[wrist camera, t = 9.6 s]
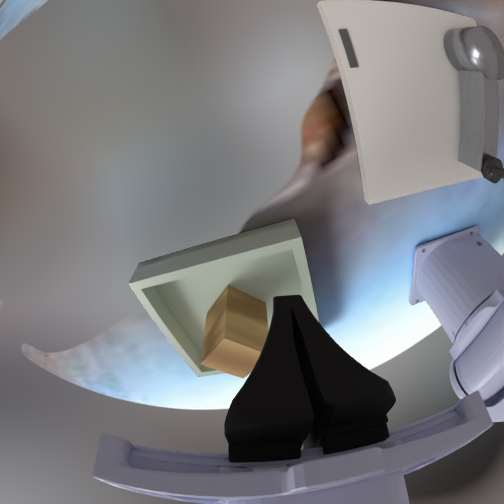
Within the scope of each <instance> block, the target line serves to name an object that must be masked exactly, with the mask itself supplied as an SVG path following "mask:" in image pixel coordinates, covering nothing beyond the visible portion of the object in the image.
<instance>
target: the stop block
mask: <svg viewBox="0 0 504 504" xmlns="http://www.w3.org/2000/svg"><path fill="white" fill-rule="evenodd" d="M268 332H269V329H268V319H267V309H266V302H263V301H261V300H259V299H257V298H255V297H252V296H250V295H248V294H246V293H244V292H242V291H240V290H237V289H235V288H233V287H231V286H229V285H227V286H226V288H225V289H224V290H223V292H222V293H221V294H220V296H219V297H218V298H217V300H216V301H215V302H214V304H213V305H212V306H211V308H210V309H209V310H208V312H207V315H206V323H205V330H204V338H203V346H202V355H201V365H204V366H207V367H210V368H213V369H216V370H219V371H222V372H225V373H228V374H231V375H234V376H238V377H241V378H244V377H246V376H247V375H248V374H249V373H250V372H252V370H253V368H254V366H255V364H256V362H257V360H258V358H259V356H260V354H261V351H262V349H263V347H264V344H265V341H266V338H267V335H268Z"/></svg>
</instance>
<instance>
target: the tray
mask: <svg viewBox="0 0 504 504" xmlns="http://www.w3.org/2000/svg"><path fill="white" fill-rule="evenodd" d="M129 285H130V287H131V288H132V290H133V291H134V293H135V294H136V296H137V297H138V299H139V300H140V302H141V303H142V305H143V306H144V308H145V309H146V310H147V312H148V313H149V315H150V316H151V317H152V319H153V320H154V322H155V323H156V324H157V326H158V327H159V328H160V330H161V331H162V332H163V334H164V335H165V336H166V338H167V339H168V340H169V342H170V343H171V344H172V346H173V347H174V348H175V349H176V351H177V352H178V353H179V354H180V356H181V357H182V358H183V359H184V361H185V362H186V363H187V364H188V365H189V367H190V368H191V369H192V370H193V371H194V373H195V374H196V375H197V376H198V377H200V376H208V375H216V374H223V373H225V372H222V371H219V370H216V369H213V368H210V367H207V366H204V365H201V355H202V346H203V338H204V330H205V323H206V315H207V312H208V310H209V309H210V308H211V306H212V305H213V304H214V302H215V301H216V300H217V298H218V297H219V296H220V294H221V293H222V292H223V290H224V289H225V288H226V286H227V285H229V286H231V287H233V288H235V289H237V290H240V291H242V292H244V293H246V294H248V295H250V296H252V297H255V298H257V299H259V300H261V301H263V302H266V309H267V319H268V329H269V328H270V324H271V320H272V315H273V298H274V297H275V296H286V295H299V294H300V295H301V296H302V298H303V299H304V301H305V303H306V304H307V306H308V308H309V309H310V311H311V312H312V314H313V315H314V316H315V318H316V319H317V320H318V322H319V319H318V313H317V308H316V303H315V298H314V293H313V288H312V283H311V278H310V273H309V269H308V264H307V259H306V255H305V250H304V246H303V241H302V237H301V234H300V232H299V229H298V227H297V224H296V222H295V219H290V220H286V221H283V222H279V223H275V224H272V225H268V226H265V227H261V228H257V229H254V230H250V231H247V232H243V233H239V234H236V235H232V236H229V237H225V238H222V239H219V240H215V241H211V242H208V243H205V244H201V245H198V246H194V247H191V248H187V249H184V250H181V251H177V252H174V253H171V254H167V255H164V256H161V257H157V258H154V259H151V260H147V261H144V262H141V263H139V264H138V266H137V268H136V270H135V272H134V274H133V276H132V278H131V280H130V282H129Z"/></svg>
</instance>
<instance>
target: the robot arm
mask: <svg viewBox="0 0 504 504" xmlns="http://www.w3.org/2000/svg"><path fill="white" fill-rule="evenodd" d="M479 231H480V229H479V227H478V226H474V227H472V228H469V229H466V230H463V231H460V232H457V233H455V234H452V235H449V236H446V237H443V238H440V239H437V240H434V241H431V242H428V243H425V244H422V245H419V246H417V247H416V248H415V251H414V264H413V275H412V284H411V293H410V300H409V303H410V304H411V305H415V304H417V303H420V302H422V301H425V300H426V302H427V303H428V305H429V306H430V308H431V309H432V311H433V312H434V314H435V315H436V317H437V319H438V320H439V322H440V323H441V325H442V327H443V328H444V330H445V331H446V333H447V335H448V336H449V338H450V340H451V342H452V343H453V347H452V349H451V350H450V353H451V355H452V357H453V360H452V362H451V364H450V379H451V383H452V386H453V389H454V391H455V392H456V394H457V396H458V397H459V398H460V399H461V400H460V401H459V402H458V403H457V404H456V405H455V406H453V407H451V408H449V409H447V410H445V411H442V412H440V413H438V414H435V415H433V416H430V417H428V418H425V419H423V420H420V421H418V422H415V423H412V424H409V425H406V426H403V427H400V428H397V429H394V430H391V431H388V428H387V424H386V423H387V422H388V418H387V415H386V414H387V413H388V411H389V410H390V409H391V408H392V407H393V405H394V404H395V401H396V398H395V395H394V392H393V390H392V388H391V387H390V385H389V383H388V381H386V380H385V379H383V378H381V377H379V376H378V375H376V374H374V373H372V372H371V371H369V370H368V369H367V368H365V367H364V366H362V365H361V364H360V363H359V362H357V361H356V360H355V359H353V358H352V357H351V356H350V355H349V354H348V353H346V352H345V351H344V350H343V349H342V348H341V347H340V346H339V345H338V344H337V343H336V342H335V341H334V340H333V339H332V338H331V337H330V335H329V334H328V333H327V332H326V331H325V329H324V328H323V327H322V326H321V324H320V323H319V322H318V320H317V319H316V318H315V316H314V315H313V314H312V312H311V311H310V309H309V308H308V306H307V304H306V303H305V301H304V299H303V298H302V296H301V295H300V294H299V295H286V296H275V297H274V298H273V315H272V320H271V324H270V328H269V332H268V335H267V338H266V341H265V344H264V347H263V349H262V351H261V354H260V356H259V358H258V360H257V362H256V364H255V366H254V368H253V370H252V372H251V374H250V375H249V377H248V379H247V380H246V382H245V383H244V385H243V387H242V388H241V389H240V391H239V392H238V393H237V395H236V396H235V398H234V399H233V400H232V403H231V405H230V408H229V411H228V413H227V416H226V420H225V437H226V439H227V441H228V443H229V454H210V453H194V452H181V451H172V450H165V449H157V448H150V447H144V446H139V445H133V444H132V443H131V442H130V441H128V440H127V439H124V438H121V437H117V436H113V435H108V434H104V433H102V434H101V435H100V439H99V444H98V448H97V453H96V458H95V462H94V467H93V473H92V476H93V477H94V478H97V479H99V480H101V481H104V482H106V483H108V484H111V485H113V486H116V487H119V488H122V489H126V490H130V491H134V492H138V493H143V494H147V495H151V496H156V497H161V498H166V499H172V500H179V501H186V502H193V503H203V504H409V499H408V494H407V490H406V485H405V481H404V476H403V475H405V474H408V473H410V472H412V471H415V470H417V469H419V468H422V467H424V466H426V465H428V464H430V463H432V462H434V461H436V460H438V459H440V458H442V457H444V456H446V455H448V454H450V453H451V452H453V451H455V450H457V449H459V448H461V447H462V446H464V445H466V444H468V443H469V442H470V441H472V440H473V439H475V438H476V437H478V436H479V435H480V434H482V433H483V432H484V431H486V430H487V429H488V428H490V427H491V426H492V425H493V423H492V422H500V421H504V258H503V257H502V256H501V255H500V254H499V253H498V252H497V251H496V250H495V249H494V248H493V247H492V246H491V245H490V244H488V243H487V242H486V241H485V240H484V239H483V238H482V237H481V236H479ZM302 444H303V446H304V449H303V450H301V447H302ZM282 467H284V468H282ZM269 468H278V469H270V470H261V471H254V470H252V469H269Z"/></svg>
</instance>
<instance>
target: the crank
mask: <svg viewBox="0 0 504 504" xmlns="http://www.w3.org/2000/svg"><path fill="white" fill-rule="evenodd" d="M443 43H444V49H445V53H446V55H447V58H448V60H449V61H450V63H451V65H452V66H453V67H454V68H455V70H457V71H458V72H459V85H460V142H459V156H458V161H459V162H461V163H463V164H466V165H468V166H470V167H471V168H473V169H475V170H477V171H479V172H482V175H483V177H484V178H486V179H487V180H489V181H491V182H492V183H497V182H498V181H499V180H500V179H501V178H503V179H504V168H503V165H502V162H501V160H500V159H498V158H496V151H497V138H498V86H497V80H501V79H503V78H504V50H503V47H502V45H501V43H500V41H499V40H498V38H497V37H496V35H495V34H494V33H493V32H492V31H491V30H490V29H488V28H486V27H484V26H476V27H465V28H456V29H450V30H448V31H447V32H446V33H445V35H444V42H443Z"/></svg>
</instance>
